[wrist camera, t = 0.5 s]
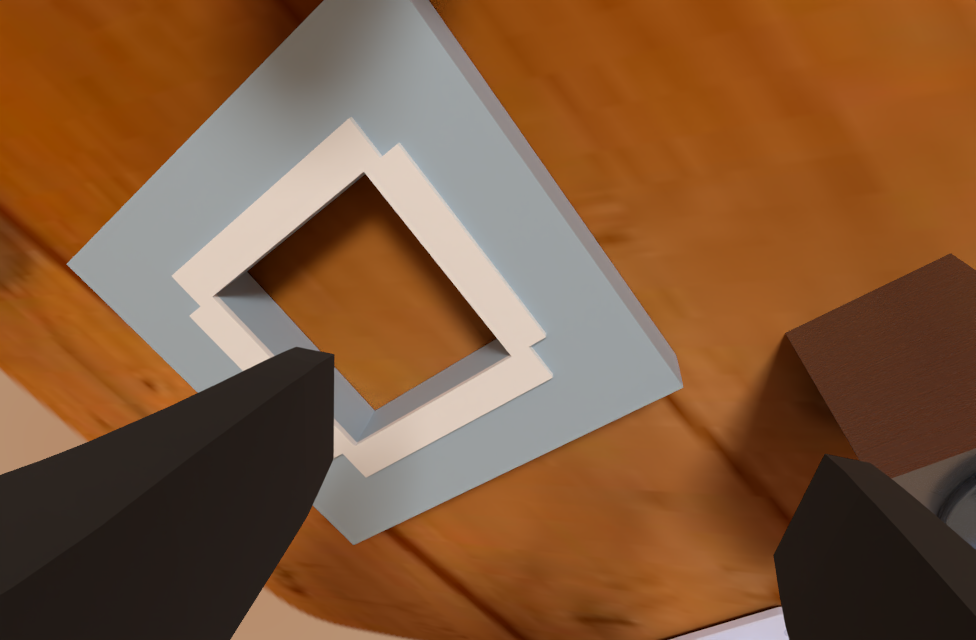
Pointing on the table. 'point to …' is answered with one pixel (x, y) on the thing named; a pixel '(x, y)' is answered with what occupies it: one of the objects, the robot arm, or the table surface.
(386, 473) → the mount plate
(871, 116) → the table surface
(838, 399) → the lens block
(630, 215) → the table surface
